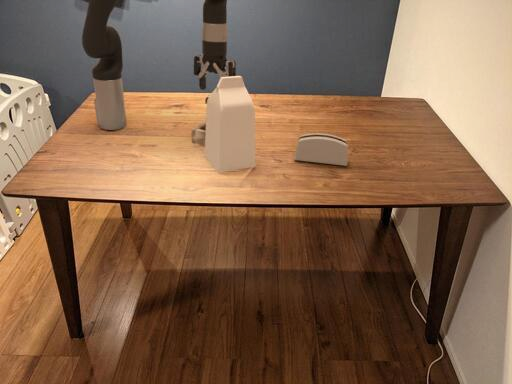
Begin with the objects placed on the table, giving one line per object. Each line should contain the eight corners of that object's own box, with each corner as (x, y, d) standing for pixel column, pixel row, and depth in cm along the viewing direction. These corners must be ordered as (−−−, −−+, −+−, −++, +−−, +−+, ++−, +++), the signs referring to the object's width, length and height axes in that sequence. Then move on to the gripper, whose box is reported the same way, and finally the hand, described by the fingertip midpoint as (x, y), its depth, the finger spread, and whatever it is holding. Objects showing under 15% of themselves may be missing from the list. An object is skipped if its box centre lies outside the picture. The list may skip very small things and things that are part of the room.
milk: (218, 172, 118) (219, 83, 105) (204, 157, 126) (203, 73, 114) (255, 166, 123) (260, 80, 110) (239, 152, 131) (241, 71, 119)
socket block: (191, 143, 136) (191, 129, 134) (210, 133, 145) (210, 119, 143) (218, 150, 132) (218, 135, 130) (235, 139, 141) (236, 125, 139)
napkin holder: (346, 162, 129) (351, 134, 123) (346, 170, 125) (352, 141, 120) (294, 156, 131) (297, 128, 125) (293, 163, 127) (296, 135, 121)
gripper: (188, 37, 122) (189, 90, 130) (228, 43, 117) (227, 98, 125) (201, 34, 128) (202, 85, 136) (241, 40, 123) (239, 92, 131)
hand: (214, 91), depth 130 cm, fingers open, 8 cm apart
